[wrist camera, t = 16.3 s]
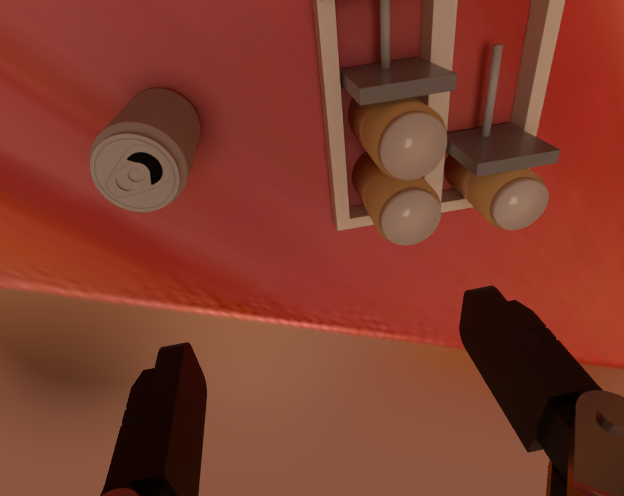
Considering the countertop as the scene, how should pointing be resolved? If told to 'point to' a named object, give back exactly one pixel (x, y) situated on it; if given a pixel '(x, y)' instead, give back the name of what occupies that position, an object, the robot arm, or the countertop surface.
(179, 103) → the beverage can
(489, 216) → the jar
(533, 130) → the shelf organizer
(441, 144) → the jar
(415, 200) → the jar
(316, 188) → the countertop surface
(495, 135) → the pusher
